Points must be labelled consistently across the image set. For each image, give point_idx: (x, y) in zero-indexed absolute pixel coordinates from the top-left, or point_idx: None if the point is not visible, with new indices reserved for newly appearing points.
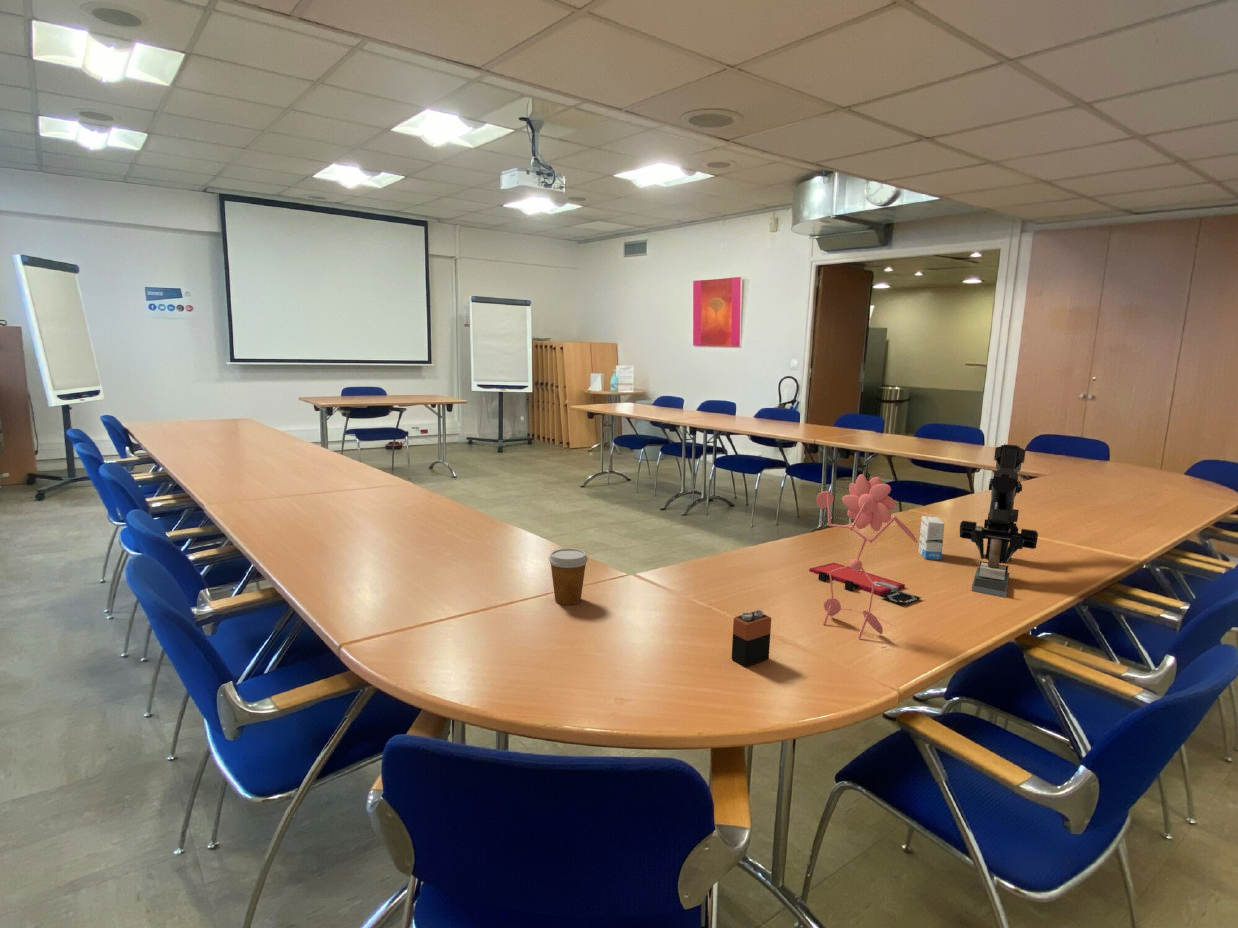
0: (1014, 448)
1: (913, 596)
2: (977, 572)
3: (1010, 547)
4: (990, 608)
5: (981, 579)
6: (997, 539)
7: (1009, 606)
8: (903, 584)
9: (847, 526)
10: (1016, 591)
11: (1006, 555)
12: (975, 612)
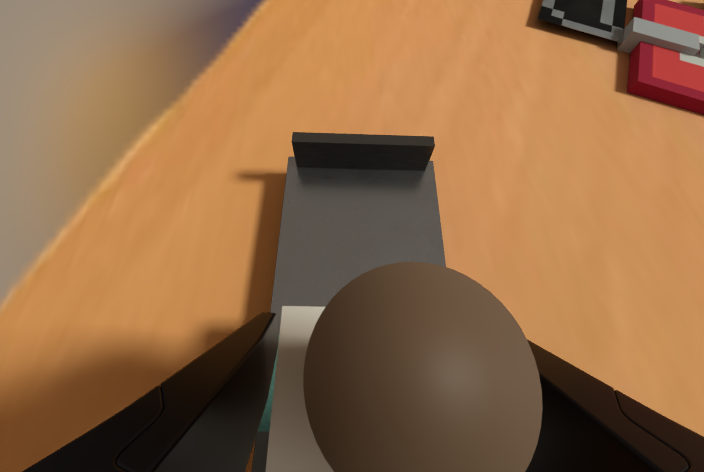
0: None
1: (560, 18)
2: None
3: (162, 416)
4: (345, 52)
5: (404, 140)
6: (407, 453)
7: (287, 92)
8: (640, 78)
9: None
10: (237, 283)
11: (254, 341)
12: (382, 12)
